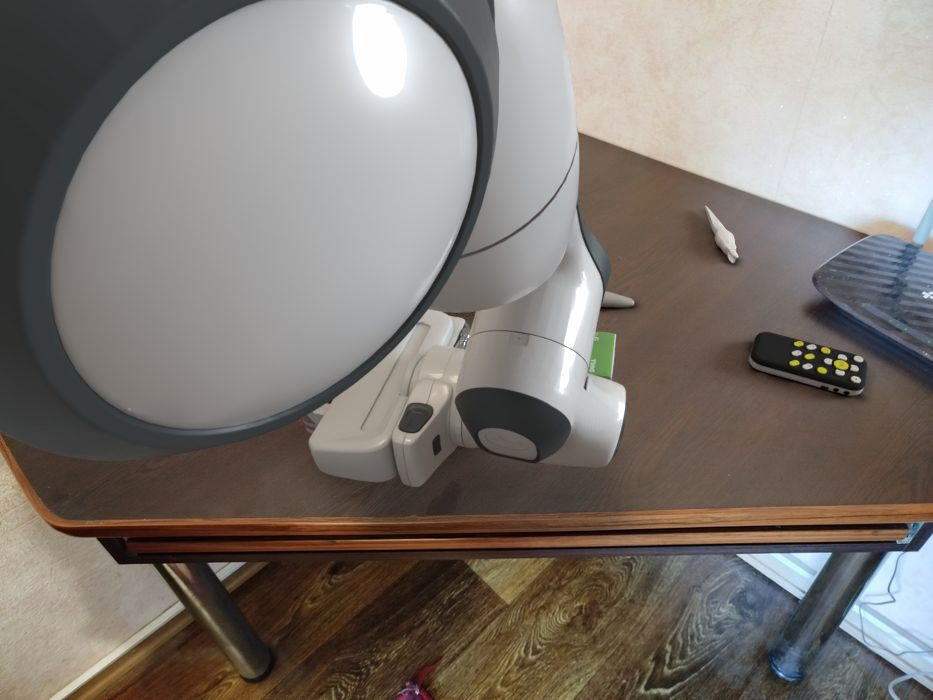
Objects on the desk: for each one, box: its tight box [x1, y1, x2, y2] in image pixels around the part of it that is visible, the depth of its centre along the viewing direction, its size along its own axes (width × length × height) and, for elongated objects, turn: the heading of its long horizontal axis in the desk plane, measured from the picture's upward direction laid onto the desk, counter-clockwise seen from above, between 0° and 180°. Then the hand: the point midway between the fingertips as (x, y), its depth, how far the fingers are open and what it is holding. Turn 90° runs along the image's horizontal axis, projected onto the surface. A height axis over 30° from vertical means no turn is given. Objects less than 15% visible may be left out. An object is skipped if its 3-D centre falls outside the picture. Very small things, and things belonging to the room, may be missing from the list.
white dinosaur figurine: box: [704, 205, 739, 264], centre depth 99 cm, size 15×3×2 cm, turn 2°
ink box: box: [587, 330, 617, 381], centre depth 71 cm, size 7×4×13 cm, turn 167°
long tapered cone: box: [600, 290, 635, 309], centre depth 90 cm, size 6×6×19 cm
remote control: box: [748, 331, 868, 396], centre depth 78 cm, size 6×13×2 cm, turn 62°
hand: (312, 368), depth 63 cm, fingers closed on soda can, 7 cm apart
